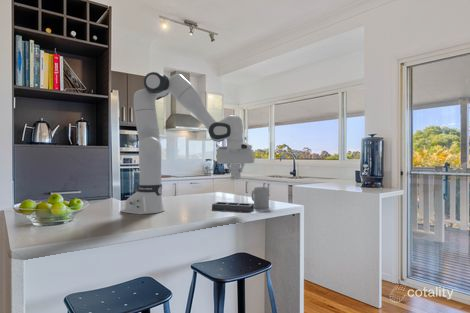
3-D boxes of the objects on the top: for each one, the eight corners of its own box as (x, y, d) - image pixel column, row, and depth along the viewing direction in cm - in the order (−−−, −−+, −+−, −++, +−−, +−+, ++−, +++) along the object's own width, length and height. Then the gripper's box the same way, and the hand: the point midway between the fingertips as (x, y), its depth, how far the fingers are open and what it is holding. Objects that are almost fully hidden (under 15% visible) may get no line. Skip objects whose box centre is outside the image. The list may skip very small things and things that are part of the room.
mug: (272, 207, 169) (272, 188, 169) (261, 209, 163) (261, 189, 163) (257, 204, 178) (257, 186, 178) (246, 206, 172) (246, 187, 172)
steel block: (231, 179, 157) (230, 164, 157) (233, 178, 161) (233, 163, 160) (238, 179, 156) (237, 164, 155) (240, 178, 159) (240, 163, 159)
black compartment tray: (212, 209, 162) (212, 204, 162) (217, 206, 170) (217, 201, 170) (249, 212, 155) (250, 206, 155) (253, 209, 164) (253, 203, 164)
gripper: (214, 146, 158) (215, 172, 158) (252, 145, 152) (252, 172, 152) (218, 146, 164) (219, 171, 164) (254, 145, 158) (255, 171, 158)
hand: (235, 172), depth 158 cm, fingers closed on steel block, 4 cm apart
